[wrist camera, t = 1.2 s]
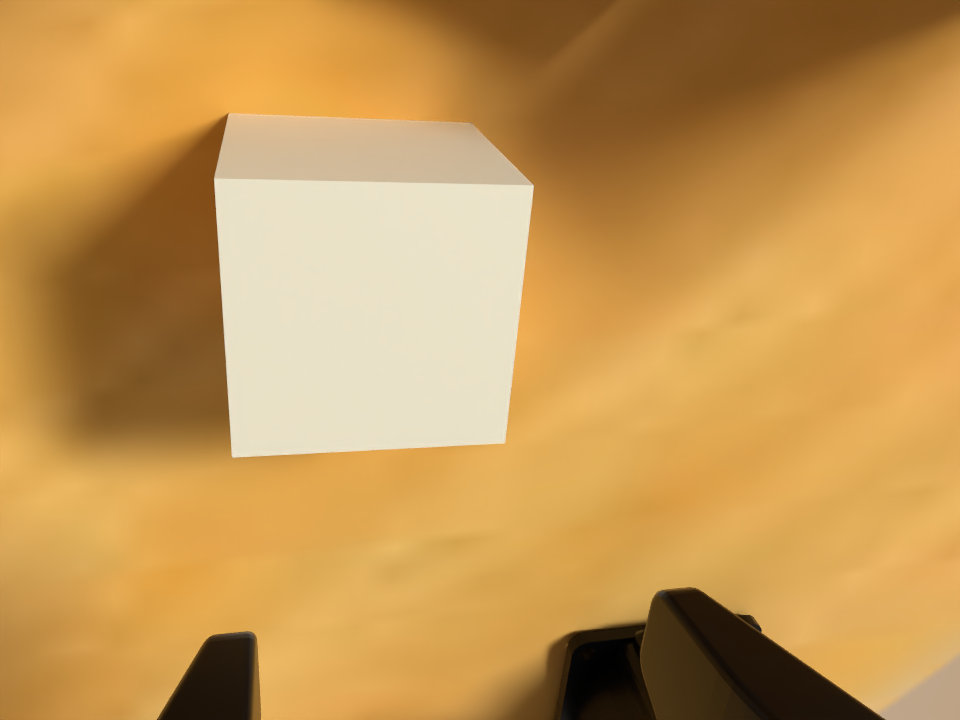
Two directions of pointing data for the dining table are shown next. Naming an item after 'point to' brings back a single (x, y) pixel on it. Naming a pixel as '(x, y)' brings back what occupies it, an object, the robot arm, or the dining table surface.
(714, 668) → the robot arm
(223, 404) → the dining table surface
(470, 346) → the cream block
